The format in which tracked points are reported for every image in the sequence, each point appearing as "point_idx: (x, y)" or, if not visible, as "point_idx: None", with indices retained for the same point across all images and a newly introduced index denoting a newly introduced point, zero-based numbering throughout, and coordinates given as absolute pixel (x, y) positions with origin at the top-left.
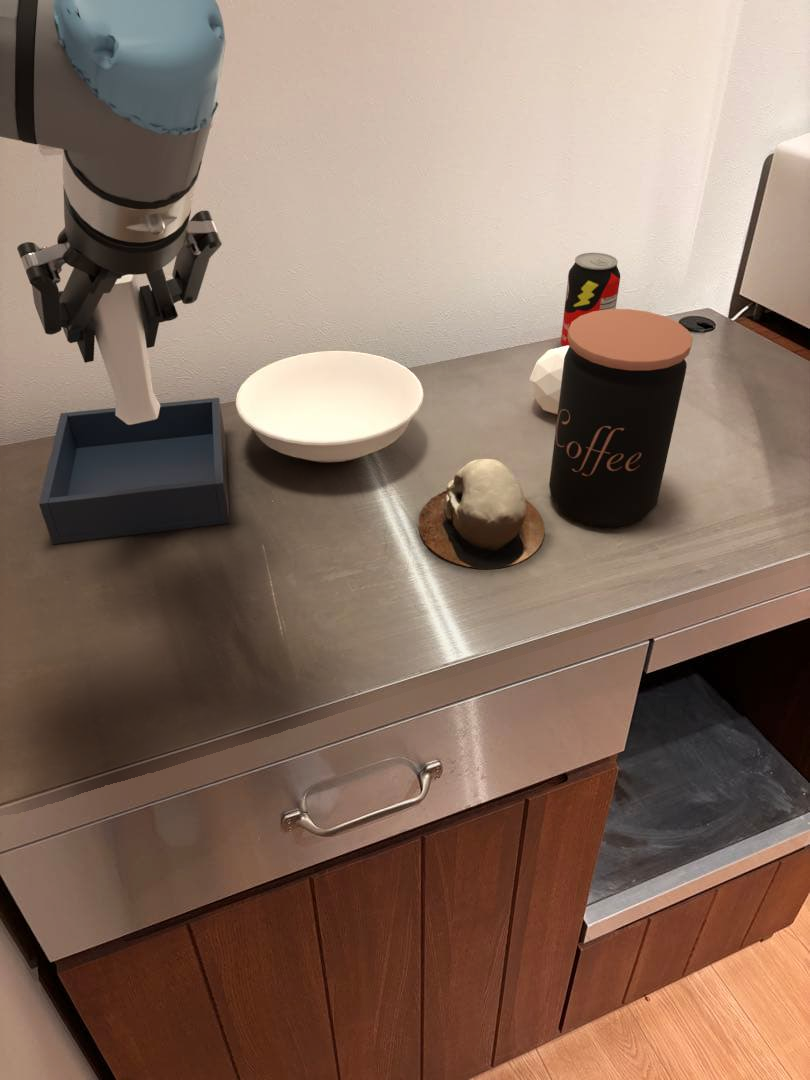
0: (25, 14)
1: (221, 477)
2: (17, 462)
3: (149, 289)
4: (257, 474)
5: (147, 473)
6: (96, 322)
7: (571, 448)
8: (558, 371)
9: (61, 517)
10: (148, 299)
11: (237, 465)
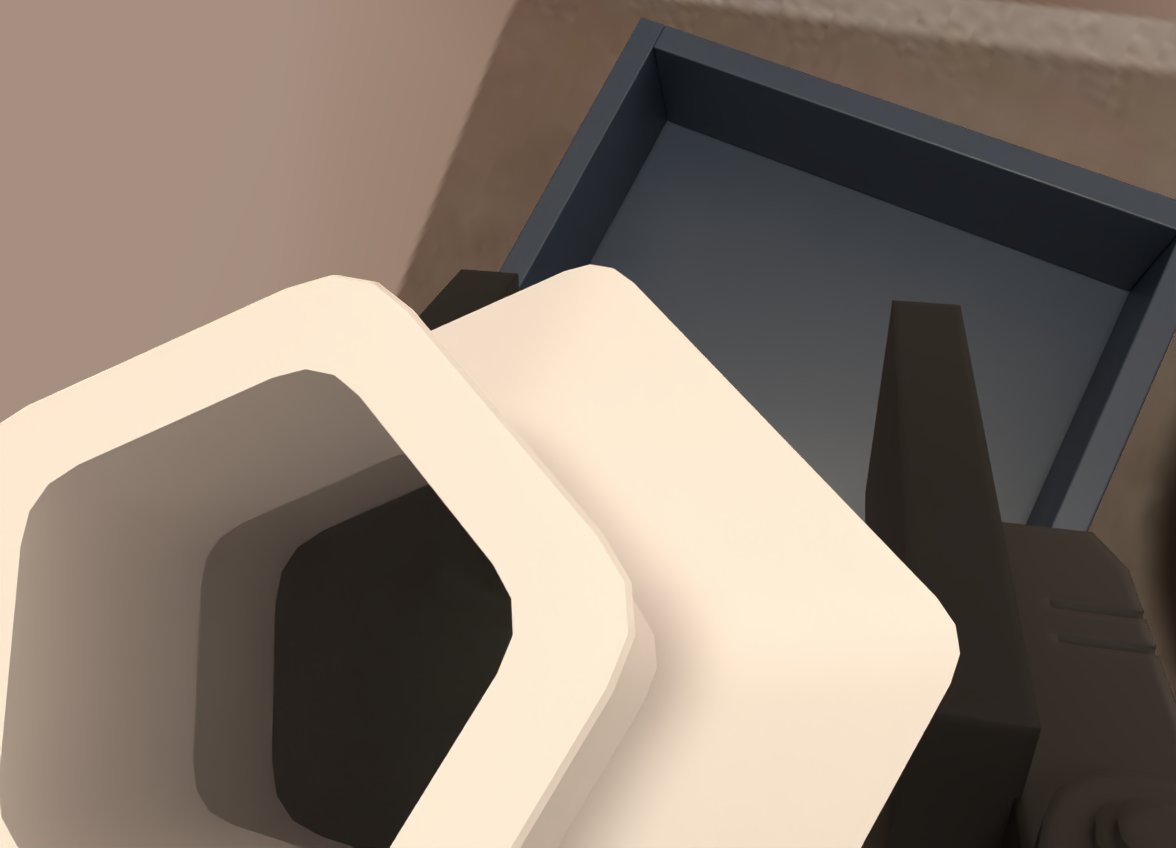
0: None
1: None
2: (506, 80)
3: (1014, 765)
4: (1155, 598)
5: (798, 388)
6: (388, 718)
7: None
8: None
9: None
10: (933, 841)
11: (1112, 497)
